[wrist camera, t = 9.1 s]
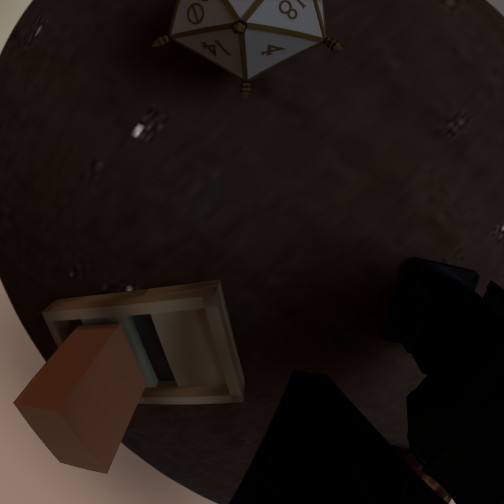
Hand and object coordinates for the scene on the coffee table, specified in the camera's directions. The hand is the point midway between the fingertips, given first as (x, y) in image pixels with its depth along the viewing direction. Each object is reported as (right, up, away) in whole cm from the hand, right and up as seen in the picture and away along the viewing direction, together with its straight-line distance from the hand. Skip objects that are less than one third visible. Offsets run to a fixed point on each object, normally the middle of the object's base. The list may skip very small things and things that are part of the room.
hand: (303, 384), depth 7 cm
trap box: (-9, -4, +16) cm, 19 cm away
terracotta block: (-12, -5, +14) cm, 19 cm away
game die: (-1, +16, +8) cm, 18 cm away
